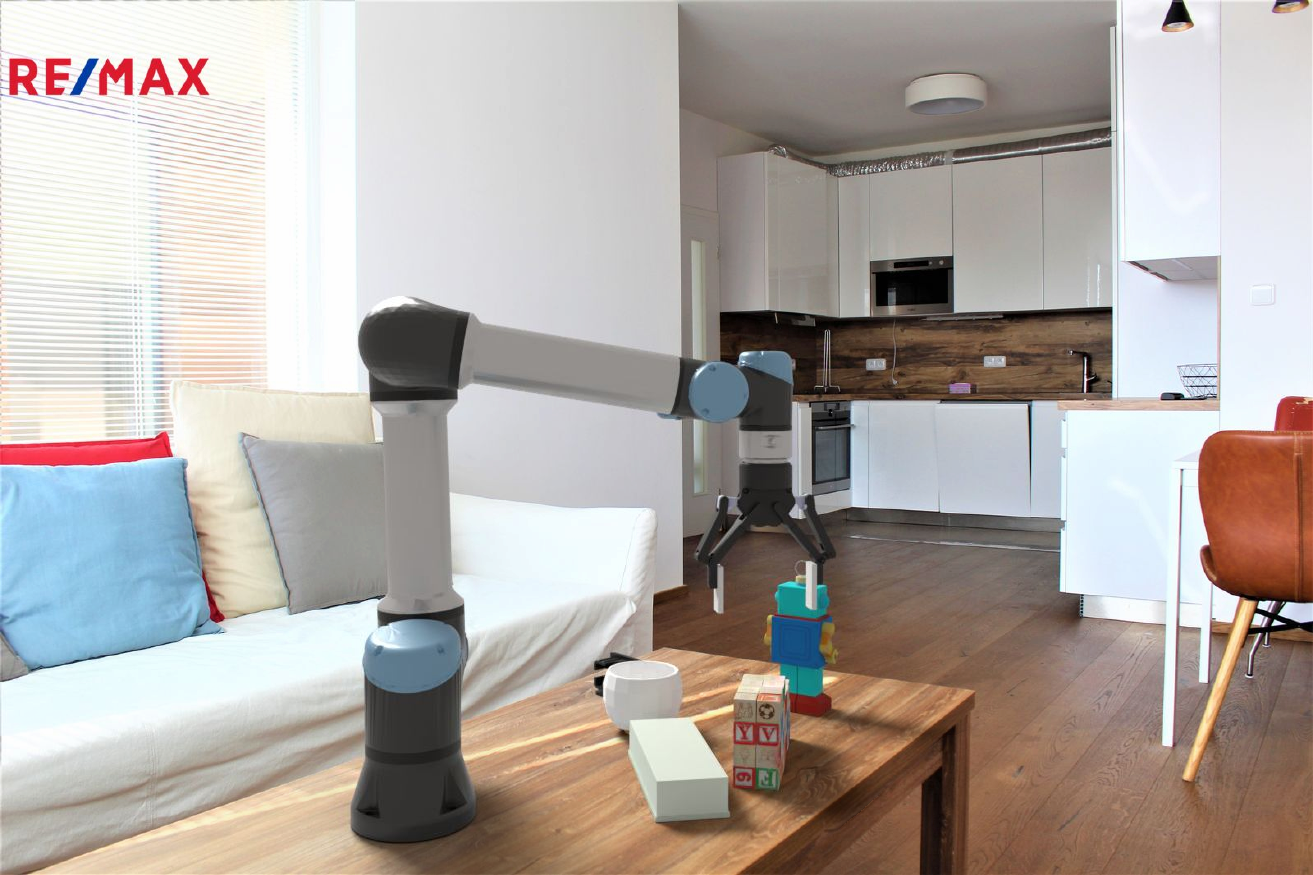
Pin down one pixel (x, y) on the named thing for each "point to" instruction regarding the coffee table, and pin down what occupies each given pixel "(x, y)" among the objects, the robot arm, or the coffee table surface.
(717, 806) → the plinth
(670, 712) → the cup
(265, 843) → the coffee table surface
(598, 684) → the end cap
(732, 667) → the coffee table surface
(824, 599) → the toy robot
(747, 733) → the stack of blocks
